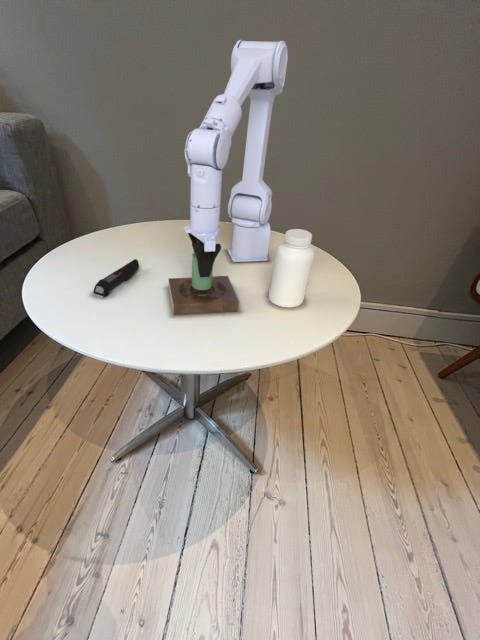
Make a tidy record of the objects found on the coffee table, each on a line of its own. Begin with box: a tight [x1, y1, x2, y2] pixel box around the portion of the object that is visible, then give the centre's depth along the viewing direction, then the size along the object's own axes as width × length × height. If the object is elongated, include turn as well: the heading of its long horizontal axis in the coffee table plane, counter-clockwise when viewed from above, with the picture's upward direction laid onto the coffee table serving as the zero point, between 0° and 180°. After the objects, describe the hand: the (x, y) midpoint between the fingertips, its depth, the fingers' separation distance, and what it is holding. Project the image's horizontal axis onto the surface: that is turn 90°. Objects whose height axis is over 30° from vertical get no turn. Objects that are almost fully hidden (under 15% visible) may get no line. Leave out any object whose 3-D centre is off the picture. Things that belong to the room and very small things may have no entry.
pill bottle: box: [268, 228, 315, 308], centre depth 83 cm, size 8×8×15 cm
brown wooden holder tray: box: [168, 275, 240, 316], centre depth 86 cm, size 14×12×2 cm
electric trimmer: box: [93, 258, 140, 298], centre depth 92 cm, size 4×16×3 cm, turn 152°
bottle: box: [191, 239, 214, 290], centre depth 81 cm, size 4×4×10 cm
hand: (202, 270), depth 83 cm, fingers closed on bottle, 4 cm apart
